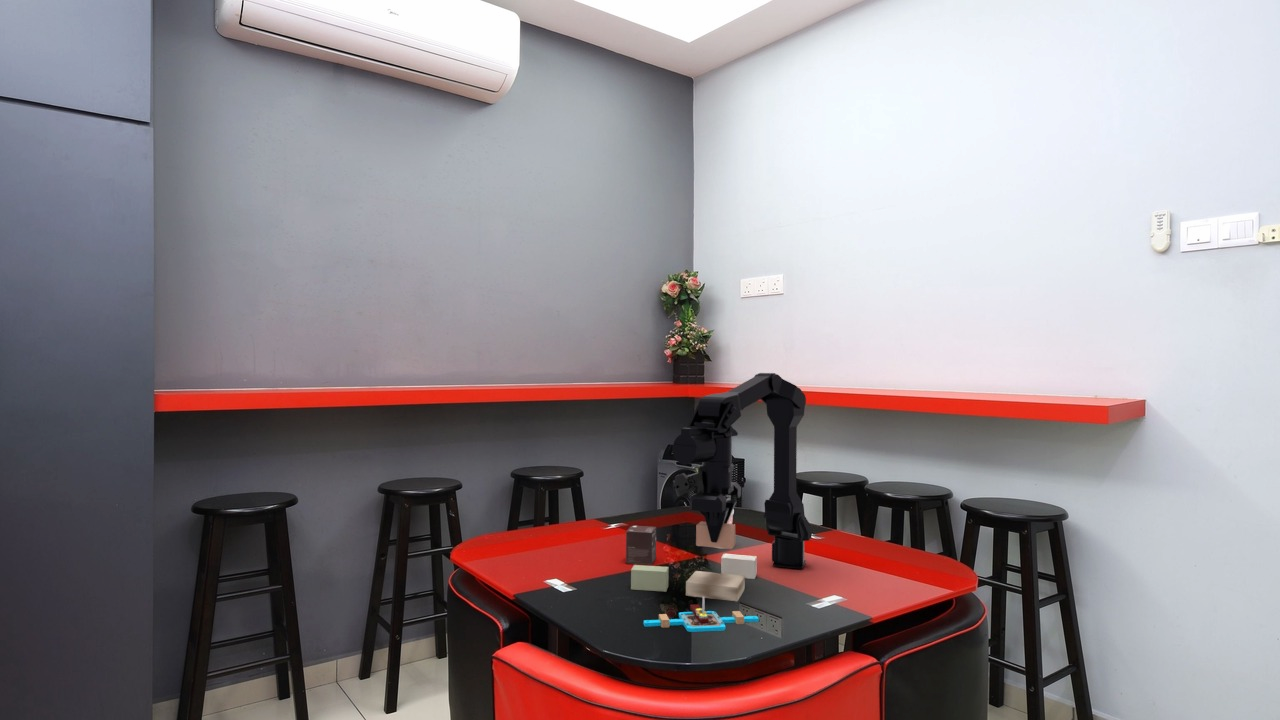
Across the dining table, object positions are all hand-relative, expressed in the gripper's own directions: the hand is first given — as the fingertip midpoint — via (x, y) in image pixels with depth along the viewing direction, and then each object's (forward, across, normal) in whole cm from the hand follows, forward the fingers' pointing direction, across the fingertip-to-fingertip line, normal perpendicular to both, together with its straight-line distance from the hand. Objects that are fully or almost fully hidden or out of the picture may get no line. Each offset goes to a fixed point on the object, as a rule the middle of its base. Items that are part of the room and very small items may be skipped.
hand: (716, 539), depth 138 cm
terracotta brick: (+1, 0, 0) cm, 1 cm away
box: (+10, -16, -21) cm, 28 cm away
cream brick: (+10, -13, +2) cm, 17 cm away
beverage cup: (+10, -36, -7) cm, 38 cm away
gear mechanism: (+11, +17, +1) cm, 20 cm away
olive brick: (+10, +2, -13) cm, 17 cm away
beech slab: (+11, 0, 0) cm, 11 cm away
